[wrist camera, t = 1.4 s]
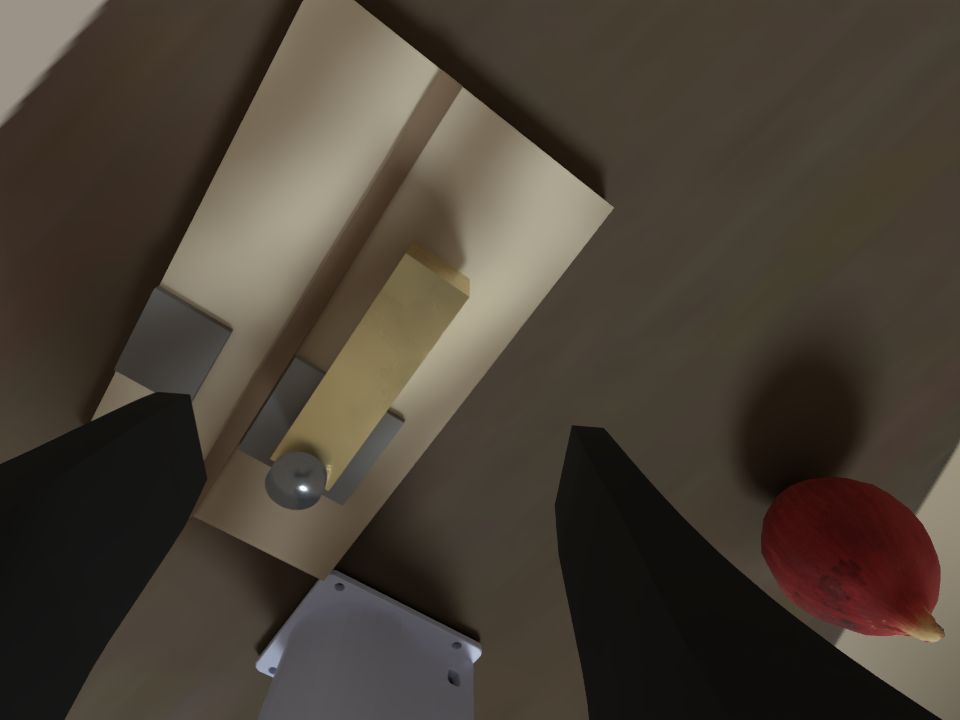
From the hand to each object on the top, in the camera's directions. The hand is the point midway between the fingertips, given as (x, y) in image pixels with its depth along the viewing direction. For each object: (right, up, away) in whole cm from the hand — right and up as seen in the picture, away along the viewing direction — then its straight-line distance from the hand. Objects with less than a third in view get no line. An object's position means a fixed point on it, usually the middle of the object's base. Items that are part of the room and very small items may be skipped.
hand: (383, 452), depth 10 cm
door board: (-4, +3, +11) cm, 13 cm away
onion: (+17, -5, +15) cm, 23 cm away
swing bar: (-2, +2, +10) cm, 11 cm away
